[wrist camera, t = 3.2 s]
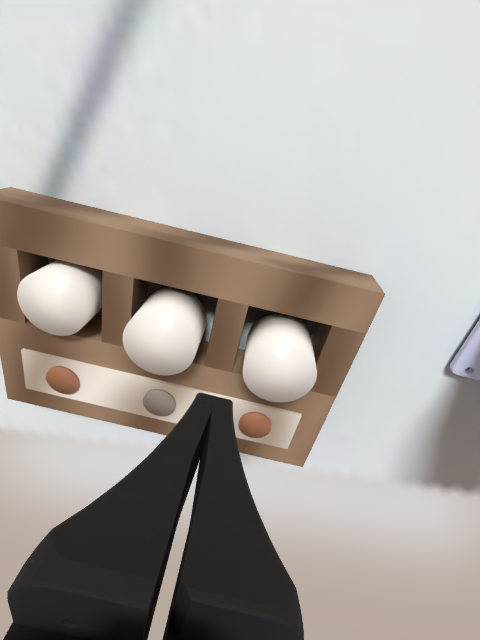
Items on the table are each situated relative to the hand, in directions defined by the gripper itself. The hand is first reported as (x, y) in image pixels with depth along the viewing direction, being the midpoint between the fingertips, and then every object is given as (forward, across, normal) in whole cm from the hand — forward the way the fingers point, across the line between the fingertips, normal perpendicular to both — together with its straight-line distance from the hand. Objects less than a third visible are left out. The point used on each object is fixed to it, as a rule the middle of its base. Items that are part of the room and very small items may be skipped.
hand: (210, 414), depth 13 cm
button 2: (+7, -3, 0) cm, 7 cm away
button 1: (+8, +9, 0) cm, 12 cm away
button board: (+8, +3, +2) cm, 9 cm away
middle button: (+7, +3, 0) cm, 7 cm away
